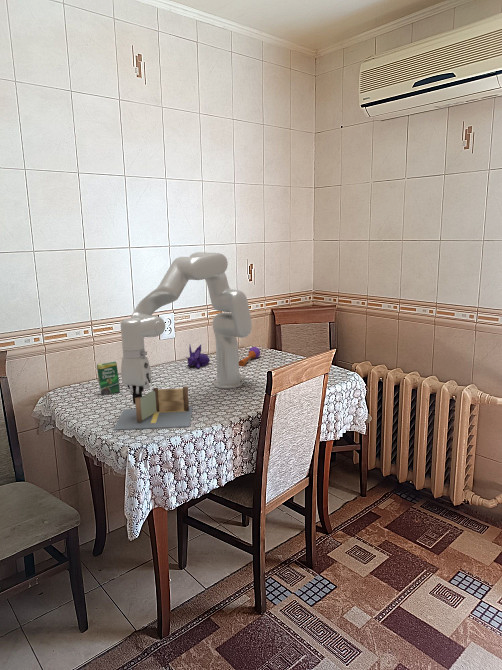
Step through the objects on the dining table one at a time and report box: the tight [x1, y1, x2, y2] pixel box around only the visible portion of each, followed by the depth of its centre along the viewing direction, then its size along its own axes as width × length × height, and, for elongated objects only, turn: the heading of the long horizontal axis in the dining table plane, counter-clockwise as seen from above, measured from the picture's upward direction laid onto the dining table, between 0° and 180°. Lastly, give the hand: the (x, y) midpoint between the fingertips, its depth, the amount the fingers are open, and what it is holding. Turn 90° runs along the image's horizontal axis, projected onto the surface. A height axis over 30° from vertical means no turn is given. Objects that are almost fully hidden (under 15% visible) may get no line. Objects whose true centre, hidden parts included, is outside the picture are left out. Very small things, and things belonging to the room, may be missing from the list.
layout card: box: [112, 405, 194, 431], centre depth 180 cm, size 26×19×1 cm
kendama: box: [239, 346, 261, 367], centre depth 251 cm, size 6×6×20 cm
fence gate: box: [134, 390, 157, 422], centre depth 178 cm, size 11×2×9 cm, turn 157°
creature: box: [185, 344, 210, 369], centre depth 244 cm, size 9×18×12 cm, turn 147°
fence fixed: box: [152, 385, 190, 412], centre depth 184 cm, size 13×2×9 cm, turn 93°
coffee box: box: [96, 361, 121, 396], centre depth 207 cm, size 8×3×13 cm, turn 114°
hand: (137, 402), depth 178 cm, fingers closed
